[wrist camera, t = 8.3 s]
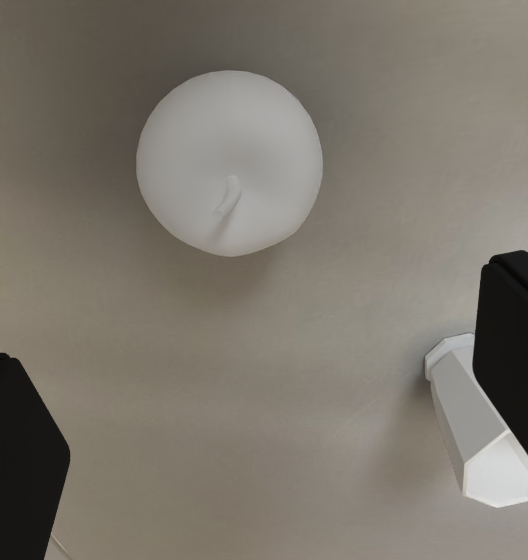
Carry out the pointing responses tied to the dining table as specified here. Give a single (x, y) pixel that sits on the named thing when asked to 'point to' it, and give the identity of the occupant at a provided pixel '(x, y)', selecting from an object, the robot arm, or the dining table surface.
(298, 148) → the plain white apple
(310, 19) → the dining table surface
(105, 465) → the dining table surface
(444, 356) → the cup
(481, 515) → the dining table surface
